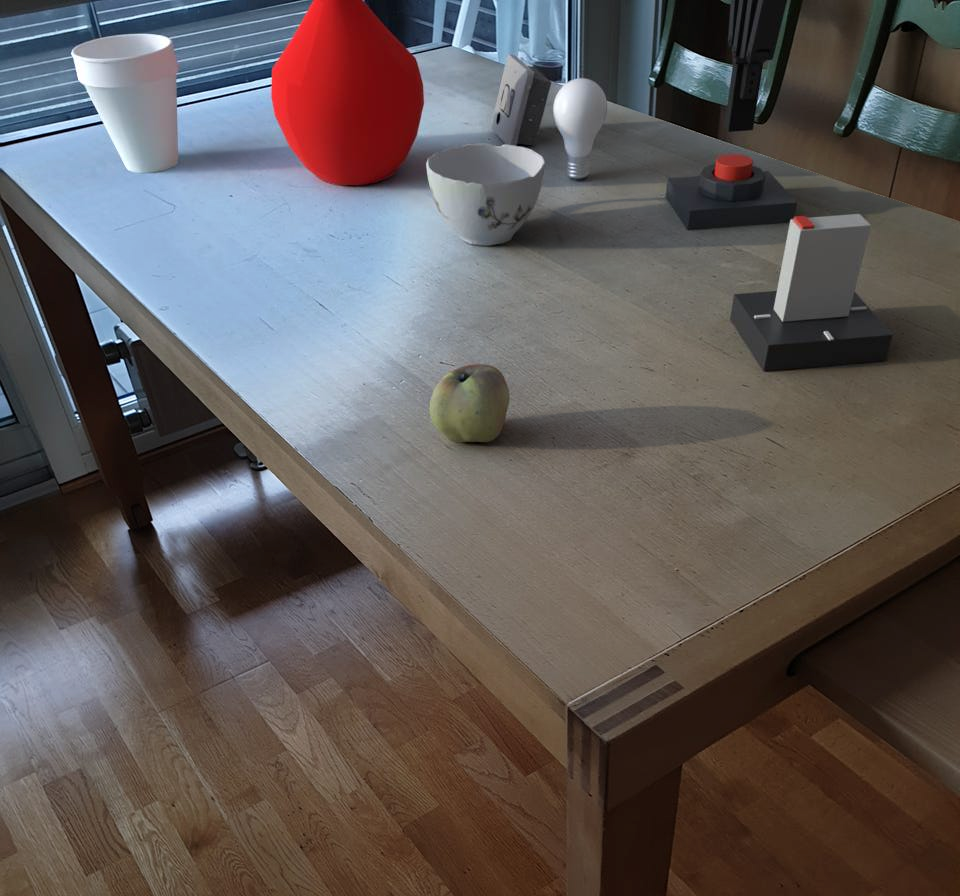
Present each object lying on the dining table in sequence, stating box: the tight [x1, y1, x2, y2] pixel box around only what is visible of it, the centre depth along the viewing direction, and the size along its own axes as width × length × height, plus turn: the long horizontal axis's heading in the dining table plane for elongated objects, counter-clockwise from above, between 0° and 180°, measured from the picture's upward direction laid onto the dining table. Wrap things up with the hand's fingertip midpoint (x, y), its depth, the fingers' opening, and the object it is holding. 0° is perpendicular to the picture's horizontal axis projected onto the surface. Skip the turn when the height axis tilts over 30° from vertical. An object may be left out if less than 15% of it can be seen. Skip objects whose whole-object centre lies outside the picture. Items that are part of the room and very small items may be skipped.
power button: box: [714, 153, 754, 181], centre depth 107 cm, size 4×4×2 cm
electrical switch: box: [491, 54, 552, 147], centre depth 127 cm, size 9×5×9 cm, turn 15°
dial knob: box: [774, 213, 872, 322], centre depth 83 cm, size 6×2×8 cm, turn 96°
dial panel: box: [729, 290, 893, 372], centre depth 87 cm, size 11×10×3 cm
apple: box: [428, 363, 511, 443], centre depth 76 cm, size 6×8×6 cm
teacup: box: [425, 143, 546, 247], centre depth 105 cm, size 15×12×8 cm
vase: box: [270, 0, 425, 186], centre depth 112 cm, size 18×18×30 cm
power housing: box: [665, 163, 798, 232], centre depth 108 cm, size 12×10×4 cm
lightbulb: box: [552, 77, 608, 181], centre depth 114 cm, size 6×6×11 cm
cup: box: [70, 33, 180, 174], centre depth 123 cm, size 12×12×14 cm
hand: (738, 128), depth 104 cm, fingers closed
